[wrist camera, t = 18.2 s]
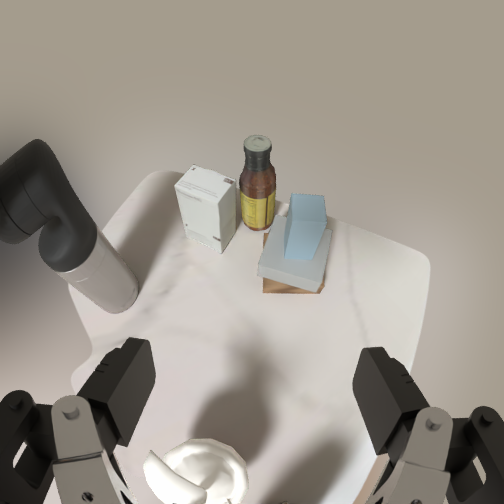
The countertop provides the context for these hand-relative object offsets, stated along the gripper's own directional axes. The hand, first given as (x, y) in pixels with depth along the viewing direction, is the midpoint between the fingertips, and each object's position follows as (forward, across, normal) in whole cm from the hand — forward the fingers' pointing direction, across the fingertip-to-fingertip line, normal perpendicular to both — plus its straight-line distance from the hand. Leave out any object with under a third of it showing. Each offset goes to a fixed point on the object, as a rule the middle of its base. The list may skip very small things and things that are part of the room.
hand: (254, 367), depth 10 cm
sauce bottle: (+47, 0, +2) cm, 47 cm away
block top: (+37, -7, +7) cm, 38 cm away
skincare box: (+44, +8, +5) cm, 45 cm away
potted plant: (+15, +6, +34) cm, 38 cm away
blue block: (+34, -7, +4) cm, 35 cm away
